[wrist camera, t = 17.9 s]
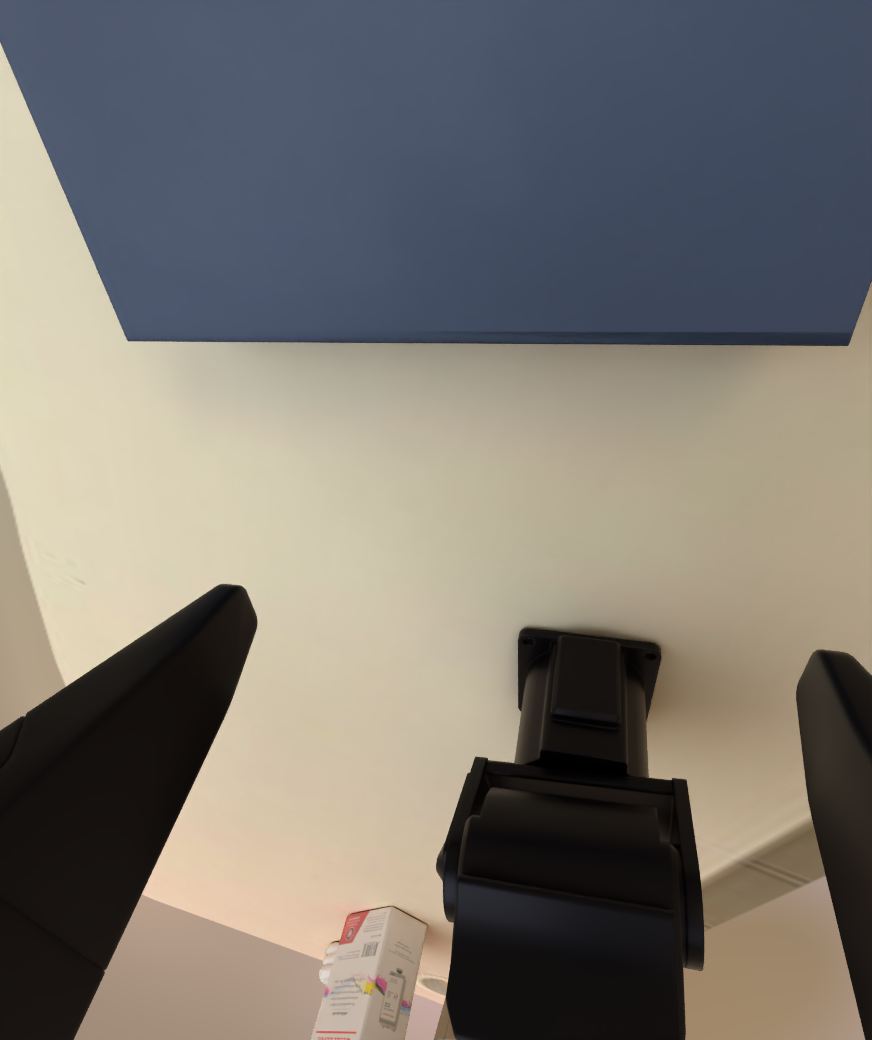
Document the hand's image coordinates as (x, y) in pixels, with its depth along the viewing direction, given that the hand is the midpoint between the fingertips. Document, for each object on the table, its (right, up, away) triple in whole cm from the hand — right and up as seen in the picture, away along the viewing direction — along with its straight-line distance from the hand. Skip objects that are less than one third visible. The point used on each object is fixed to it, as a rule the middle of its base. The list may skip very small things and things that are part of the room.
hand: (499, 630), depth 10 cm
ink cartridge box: (-6, -40, +53) cm, 66 cm away
